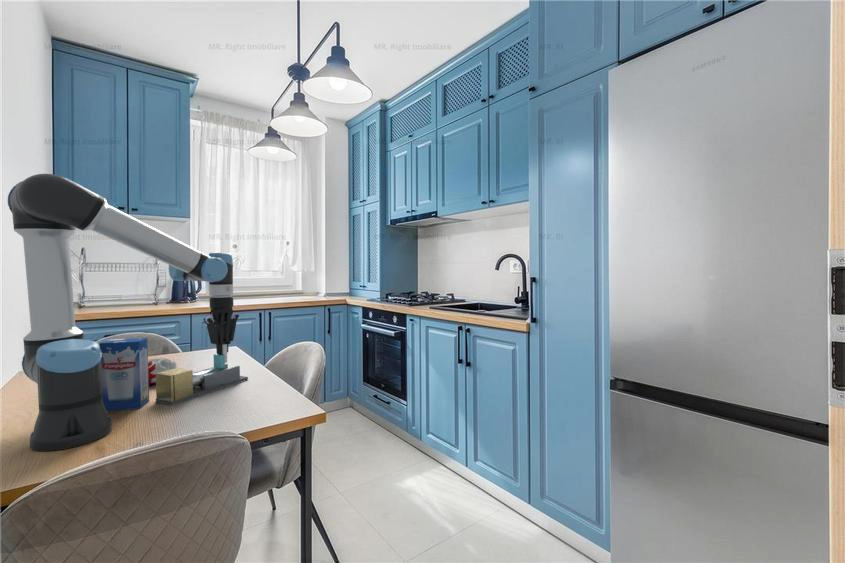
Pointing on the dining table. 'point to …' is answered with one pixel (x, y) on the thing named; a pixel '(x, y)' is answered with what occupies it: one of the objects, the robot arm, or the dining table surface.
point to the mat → (200, 392)
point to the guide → (191, 382)
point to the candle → (158, 367)
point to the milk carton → (124, 373)
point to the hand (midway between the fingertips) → (222, 362)
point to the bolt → (218, 365)
